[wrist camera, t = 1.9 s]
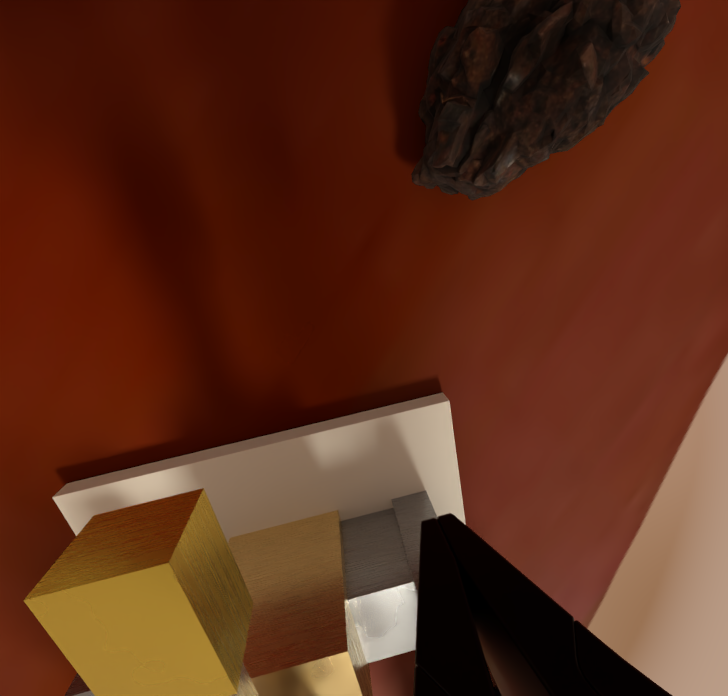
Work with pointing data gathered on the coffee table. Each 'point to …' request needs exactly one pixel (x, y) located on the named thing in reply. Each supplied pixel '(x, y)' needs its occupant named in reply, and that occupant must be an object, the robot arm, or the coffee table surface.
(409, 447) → the mounting board
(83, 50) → the coffee table surface
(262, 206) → the coffee table surface
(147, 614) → the valve lever
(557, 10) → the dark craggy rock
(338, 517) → the blocks
